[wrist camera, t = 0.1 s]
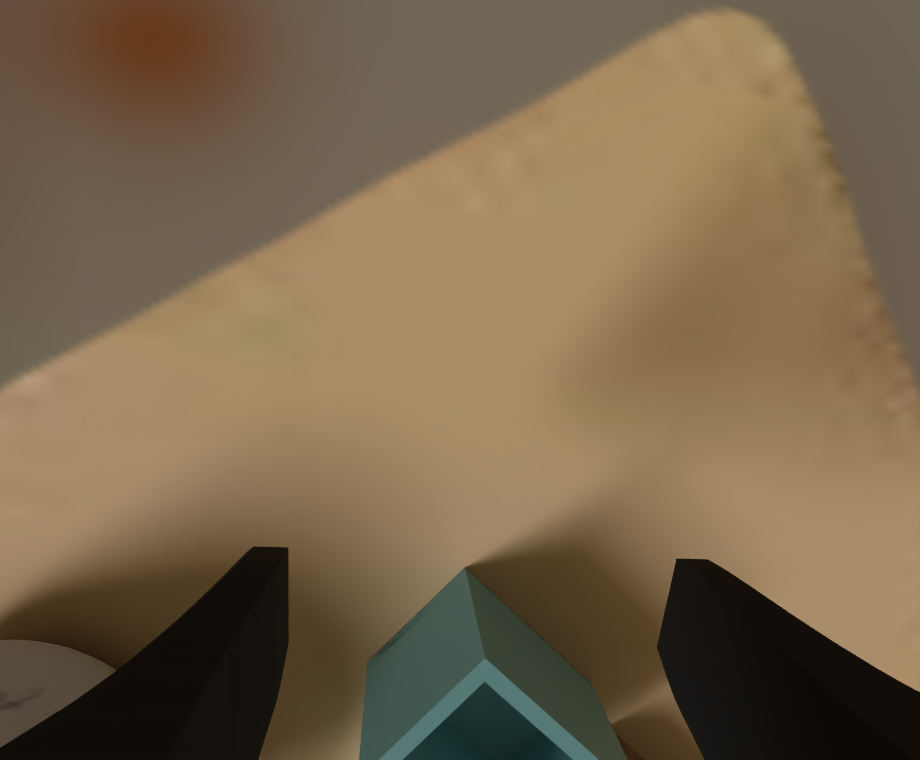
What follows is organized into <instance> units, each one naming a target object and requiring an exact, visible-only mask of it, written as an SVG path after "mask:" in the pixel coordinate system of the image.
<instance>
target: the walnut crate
mask: <svg viewBox="0 0 920 760" xmlns="http://www.w3.org/2000/svg"><path fill="white" fill-rule="evenodd" d="M616 736H617V735H616ZM617 738H618V741H619V743H620V745H621V747H622V749H623V751H624V753H625V755H626V757H627V760H643V759H642V758H641V757H640V756H639V755H638V754H637V753H636V752H635V751H633V750H632V749H631V748H630V747H629V746H628V745H627V744H626V743H625V742H624V741H622V740H621V739H620V738H619V737H618V736H617Z"/></svg>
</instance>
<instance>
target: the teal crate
mask: <svg viewBox="0 0 920 760" xmlns="http://www.w3.org/2000/svg"><path fill="white" fill-rule="evenodd" d="M359 760H627V757H626V755H625V753H624V751H623V749H622V747H621V745H620V743H619V741H618V738H617V736H616V734H615V732H614V730H613V728H612V726H611V724H610V721H609V719H608V717H607V715H606V713H605V711H604V709H603V707H602V705H601V702H600V700H599V698H598V696H597V694H596V692H595V690H594V688H593V685H592V684H591V683H590V682H588V681H587V680H586V679H585V678H584V677H583V676H582V675H581V674H580V673H579V672H578V671H577V670H575V669H574V668H573V667H572V666H571V665H570V664H569V663H568V662H567V661H566V660H565V659H564V658H562V657H561V656H560V655H559V654H558V653H557V652H556V651H555V650H554V649H553V648H552V647H551V646H549V645H548V644H547V643H546V642H545V641H544V640H543V639H542V638H541V637H540V636H539V635H538V634H536V633H535V632H534V631H533V630H532V629H531V628H530V627H529V626H528V625H527V624H526V623H524V622H523V621H522V620H521V619H520V618H519V617H518V616H517V615H516V614H515V613H514V612H513V611H511V610H510V609H509V608H508V607H507V606H506V605H505V604H504V603H503V602H502V601H501V600H500V599H498V598H497V597H496V596H495V595H494V594H493V593H492V592H491V591H490V590H489V589H488V588H487V587H485V586H484V585H483V584H482V583H481V582H480V581H479V580H478V579H477V578H476V577H475V576H474V575H472V574H471V573H470V572H469V571H468V570H467V569H466V568H464V569H463V570H462V571H461V572H460V573H459V574H458V575H457V576H456V577H455V578H454V579H453V580H452V581H451V582H450V583H449V584H447V585H446V586H445V587H444V588H443V589H442V590H441V591H440V592H439V593H438V594H437V595H436V596H435V597H434V598H433V599H432V600H431V601H430V602H429V603H428V604H427V605H426V606H425V607H424V608H423V609H422V610H421V611H420V612H419V613H418V614H416V615H415V616H414V617H413V618H412V619H411V620H410V621H409V622H408V623H407V624H406V625H405V626H404V627H403V628H402V629H401V630H400V631H399V632H398V633H397V634H396V635H395V636H394V637H393V638H392V639H391V640H390V641H389V642H388V643H386V644H385V645H384V646H383V647H382V648H381V649H380V650H379V651H378V652H377V653H376V654H375V655H374V656H373V657H372V658H371V659H370V660H369V661H368V665H367V676H366V688H365V699H364V710H363V722H362V733H361V744H360V756H359Z"/></svg>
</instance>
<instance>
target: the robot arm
mask: <svg viewBox="0 0 920 760" xmlns="http://www.w3.org/2000/svg"><path fill="white" fill-rule="evenodd" d="M288 642H289V633H288V548H284V547H252V548H251V549H250V550H249V551H248V552H246V553H245V554H244V555H243V556H242V557H241V558H240V559H239V560H238V561H237V562H236V564H235V565H234V566H233V567H232V568H231V569H230V570H229V571H228V572H227V573H226V574H225V575H224V576H223V577H222V578H221V579H220V580H219V581H218V582H217V583H216V584H215V585H214V586H213V587H212V588H211V589H209V590H208V591H207V592H206V593H205V594H204V595H203V596H202V597H201V598H200V599H199V600H198V601H197V602H196V603H195V604H194V605H193V606H192V607H190V608H189V609H188V610H187V611H186V612H185V613H184V614H183V615H182V616H181V617H180V618H179V619H178V620H176V621H175V622H174V623H173V624H172V625H171V626H170V627H169V628H167V629H166V630H165V631H164V632H163V633H161V634H160V635H159V636H158V637H157V638H156V639H154V640H153V641H152V642H151V643H150V644H148V645H147V646H146V647H145V648H144V649H143V650H141V651H140V652H139V653H138V654H137V655H135V656H134V657H133V658H132V659H131V660H129V661H128V662H127V663H125V664H124V665H123V666H122V667H120V668H119V669H118V670H116V671H115V672H114V673H113V674H111V675H110V676H109V677H107V678H106V679H104V680H103V681H102V682H100V683H99V684H97V685H96V686H95V687H93V688H92V689H90V690H89V691H88V692H86V693H85V694H83V695H82V696H80V697H79V698H78V699H76V700H75V701H73V702H72V703H70V704H69V705H67V706H66V707H64V708H63V709H61V710H59V711H58V712H56V713H55V714H53V715H51V716H50V717H48V718H47V719H45V720H43V721H42V722H40V723H39V724H37V725H35V726H34V727H32V728H31V729H29V730H27V731H26V732H24V733H23V734H21V735H19V736H18V737H16V738H15V739H13V740H11V741H10V742H8V743H7V744H5V745H3V746H2V747H0V760H258V758H259V755H260V752H261V749H262V746H263V742H264V739H265V736H266V733H267V730H268V727H269V723H270V720H271V717H272V714H273V711H274V708H275V704H276V701H277V698H278V693H279V688H280V683H281V678H282V673H283V668H284V663H285V658H286V653H287V647H288ZM657 649H658V652H659V655H660V658H661V661H662V664H663V667H664V670H665V673H666V676H667V679H668V681H669V684H670V687H671V690H672V692H673V695H674V698H675V700H676V702H677V705H678V707H679V709H680V711H681V713H682V715H683V717H684V719H685V721H686V723H687V725H688V727H689V729H690V731H691V733H692V735H693V737H694V739H695V741H696V743H697V745H698V747H699V749H700V751H701V753H702V755H703V757H704V759H705V760H920V692H918V691H916V690H914V689H913V688H911V687H909V686H907V685H905V684H903V683H901V682H900V681H898V680H896V679H894V678H893V677H891V676H889V675H887V674H886V673H884V672H882V671H880V670H879V669H877V668H875V667H874V666H872V665H870V664H869V663H867V662H866V661H864V660H862V659H861V658H859V657H857V656H856V655H854V654H852V653H851V652H849V651H848V650H846V649H844V648H843V647H841V646H839V645H838V644H836V643H835V642H833V641H832V640H830V639H828V638H827V637H825V636H824V635H822V634H821V633H819V632H818V631H816V630H814V629H813V628H811V627H810V626H808V625H807V624H805V623H804V622H802V621H801V620H799V619H798V618H796V617H795V616H793V615H792V614H790V613H789V612H787V611H786V610H784V609H783V608H782V607H780V606H779V605H777V604H776V603H774V602H773V601H771V600H770V599H768V598H767V597H765V596H764V595H762V594H761V593H759V592H758V591H756V590H755V589H754V588H752V587H751V586H749V585H748V584H746V583H745V582H743V581H742V580H740V579H739V578H737V577H736V576H734V575H733V574H731V573H729V572H728V571H726V570H725V569H723V568H721V567H720V566H718V565H716V564H715V563H713V562H711V561H709V560H707V559H676V564H675V568H674V573H673V577H672V582H671V586H670V591H669V595H668V600H667V604H666V609H665V613H664V618H663V622H662V627H661V631H660V636H659V640H658V645H657Z"/></svg>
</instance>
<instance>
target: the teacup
mask: <svg viewBox="0 0 920 760" xmlns="http://www.w3.org/2000/svg"><path fill="white" fill-rule="evenodd" d="M115 671H116V670H115V669H114V668H112V667H110V666H109V665H107V664H106V663H104V662H102V661H100V660H98V659H96V658H94V657H91V656H89V655H87V654H84V653H82V652H79V651H77V650H74V649H71V648H68V647H64V646H60V645H56V644H50V643H45V642H40V641H31V640H15V639H12V640H0V747H2V746H3V745H5V744H7V743H8V742H10V741H11V740H13V739H15V738H16V737H18V736H19V735H21V734H23V733H24V732H26V731H27V730H29V729H31V728H32V727H34V726H35V725H37V724H39V723H40V722H42V721H43V720H45V719H47V718H48V717H50V716H51V715H53V714H55V713H56V712H58V711H59V710H61V709H63V708H64V707H66V706H67V705H69V704H70V703H72V702H73V701H75V700H76V699H78V698H79V697H80V696H82V695H83V694H85V693H86V692H88V691H89V690H90V689H92V688H93V687H95V686H96V685H97V684H99V683H100V682H102V681H103V680H104V679H106V678H107V677H109V676H110V675H111V674H113V673H114V672H115Z"/></svg>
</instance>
